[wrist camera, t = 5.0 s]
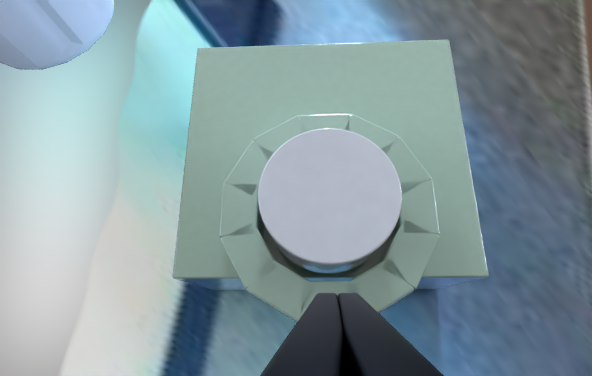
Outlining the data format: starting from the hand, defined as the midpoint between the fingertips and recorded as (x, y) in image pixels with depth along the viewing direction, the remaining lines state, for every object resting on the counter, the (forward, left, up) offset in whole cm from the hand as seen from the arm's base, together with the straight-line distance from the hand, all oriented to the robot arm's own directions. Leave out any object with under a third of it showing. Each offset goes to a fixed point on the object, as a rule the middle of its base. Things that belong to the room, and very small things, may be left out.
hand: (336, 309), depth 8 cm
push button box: (+6, -2, -11) cm, 12 cm away
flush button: (+3, -1, -4) cm, 5 cm away
